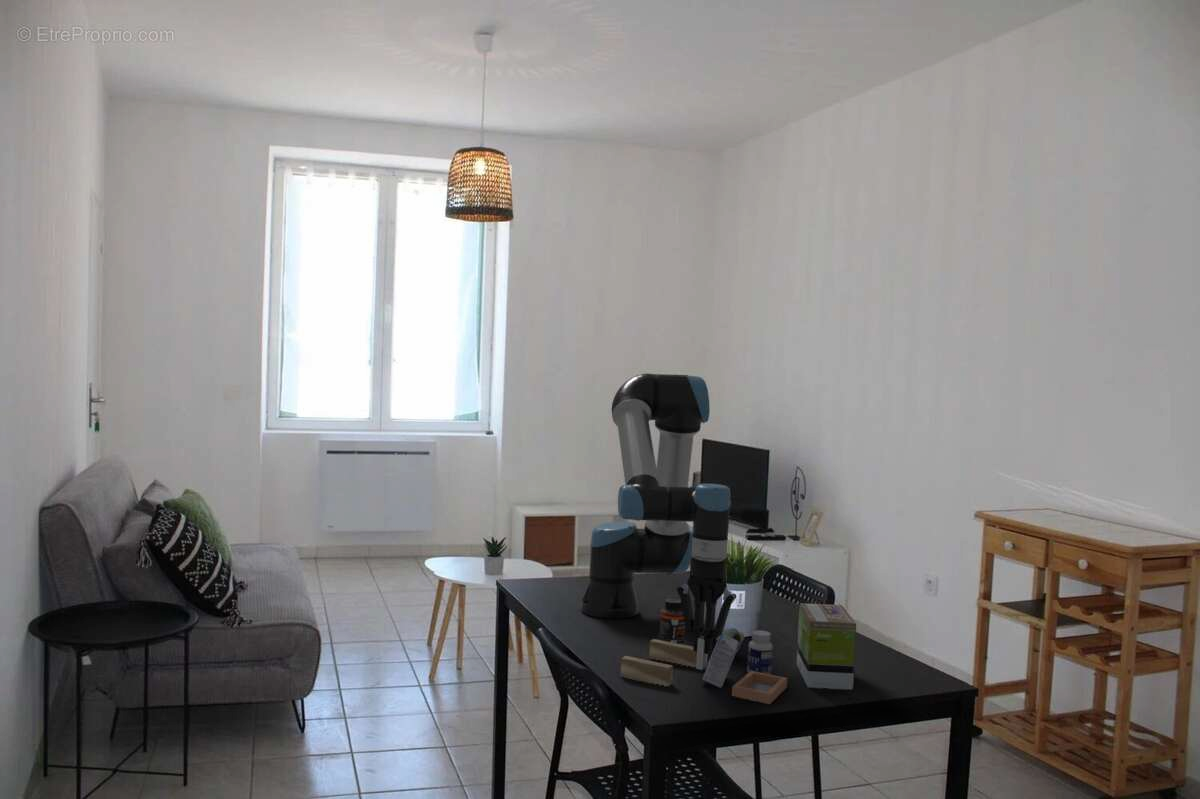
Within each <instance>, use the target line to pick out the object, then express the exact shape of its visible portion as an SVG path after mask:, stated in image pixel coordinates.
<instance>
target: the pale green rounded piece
mask: <svg viewBox="0 0 1200 799" xmlns="http://www.w3.org/2000/svg"><path fill="white" fill-rule="evenodd" d="M722 634H723V635H726V636H728V637H730V638H733V639H735V640H737V641H738V642H739V644H738V647H737V650H736V654H737V652H738V651H739V649H740V647H741V644H742V642H743V641H744V639H745V638H746V637H745V633H743V632H741V631H739V629H737V628H733V627H732V628H728V629H726V630H723V632H722ZM718 638H719V637H717V638H715V640H716V642H717V641H718Z"/></svg>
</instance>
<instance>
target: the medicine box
mask: <svg viewBox="0 0 1200 799" xmlns="http://www.w3.org/2000/svg"><path fill="white" fill-rule="evenodd" d="M738 644H739V642H738V641H737V640H735V639H733V638H730V637H728V636H726V635H723V634H721V635H720V636H719V638H718V641H717V640H716V643H715V645H714V648H713V649H712V652H711V656H710V658H709V660H708V662H707V667H705V671H704V673H703V676H702V681H704V682H707V683H708V684H710V685H713V686H716V687H717V688H719V689H721V688H723V686H724V684H725V680H726V678H727V676H728V673H729V671H730V669H731V667H732V663H733V661H734V659H735V655H736V654H737V653H736V650H737V647H738Z"/></svg>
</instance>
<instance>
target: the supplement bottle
mask: <svg viewBox="0 0 1200 799" xmlns="http://www.w3.org/2000/svg"><path fill="white" fill-rule="evenodd" d="M664 606H665V607H664V608H662V609H661V610H660V618H659V632H658V633H659V634H658V635H659V636H658V640H661V641H666V642H671V643H676V644H682V645H685V632H686V629H685V622H684V616H683V610H682V604H681V599H680V598H679V599H678V598H665V604H664Z"/></svg>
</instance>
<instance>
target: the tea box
mask: <svg viewBox="0 0 1200 799" xmlns="http://www.w3.org/2000/svg"><path fill="white" fill-rule="evenodd" d="M798 607H799V609H798V610H799V611H798V624H797V625H798V626H797V628H798V629H797V630H798V631H797V649H796V650H797V651H796V652H797V653H796V666H797V668H798V669H799V672H800V674H801V677H802V678H803V680H804V683H805V685H806V686H807V688H809V689H810V688H811V689H823V688H826V689H827V688H828V690H846V691H847V690H849V691H850V690H853V688H854V680H855V679H854V678H855V677H854V675H855V658H856V657H855V656H856V637H857V623H856V621H855V620H854V618H852V616H851V615H850V613H848V611H847V610H846V609H845V607H844V606H843V605H842V604H828V603H827V604H824V603H823V604H821V603H802V602H799V606H798ZM826 689H825V690H826Z"/></svg>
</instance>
